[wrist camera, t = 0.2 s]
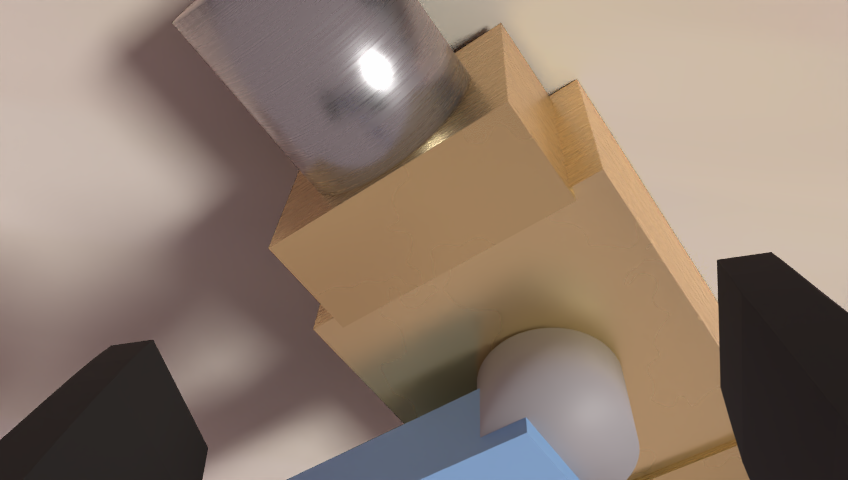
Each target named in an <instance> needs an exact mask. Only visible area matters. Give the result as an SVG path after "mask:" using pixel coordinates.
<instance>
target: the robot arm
mask: <svg viewBox="0 0 848 480" xmlns="http://www.w3.org/2000/svg"><path fill="white" fill-rule="evenodd" d="M717 274H718V312H719V350H720V388H721V391H722V395H723V398H724V402H725V405H726V409H727V412H728V416H729V419H730V423H731V426H732V430H733V433H734V436H735V439H736V443H737V446H738V449H739V452H740V456H741V459H742V462H743V465H744V467H745V470H746V472H747V474H748V477H749V479H750V480H848V312H847V311H845V310H844V309H843V308H842V307H840V306H839V305H838V304H836V303H835V302H834V301H833V300H831V299H830V298H829V297H828V296H826V295H825V294H824V293H823V292H821V291H820V290H819V289H818V288H816V287H815V286H814V285H813V284H811V283H810V282H809V281H808V280H806V279H805V278H804V277H803V276H801V275H800V274H799V273H798V272H796V271H795V270H794V269H793V268H791V267H790V266H789V265H788V264H786V263H785V262H784V261H782V260H781V259H780V258H778V257H777V256H776V255H774V254H773V253H772V252H769V253H762V254H755V255H748V256H741V257H734V258H727V259H720V260H717ZM207 450H208V447H207V445H206V443H205V441H204V439H203V437H202V435H201V433H200V431H199V429H198V427H197V425H196V423H195V421H194V419H193V417H192V415H191V413H190V411H189V409H188V407H187V406H186V404H185V402H184V400H183V398H182V396H181V394H180V392H179V390H178V388H177V386H176V384H175V382H174V380H173V378H172V376H171V374H170V372H169V370H168V368H167V366H166V364H165V362H164V360H163V358H162V356H161V354H160V352H159V350H158V348H157V347H156V345H155V343H154V341H153V340H148V341H141V342H134V343H127V344H120V345H113V346H110V347H109V348H107V349H106V350H105V351H103V352H102V353H101V354H99V355H98V356H97V357H95V358H94V359H93V360H92V361H90V362H89V363H88V364H87V365H86V366H84V367H83V368H82V369H81V370H80V371H78V372H77V373H76V374H75V375H74V376H72V377H71V378H70V379H69V380H68V381H67V382H65V383H64V384H63V385H62V386H61V387H60V388H59V389H57V390H56V391H55V392H54V393H53V394H52V395H51V396H49V397H48V398H47V399H46V400H45V401H44V402H43V403H42V404H40V405H39V406H38V407H37V408H36V409H35V410H34V411H33V412H31V413H30V414H29V415H28V416H27V417H26V418H25V419H23V420H22V421H21V422H20V423H19V424H18V425H17V426H16V427H14V428H13V429H12V430H11V431H10V432H9V433H8V434H6V435H5V436H4V437H3V438H2V439H1V440H0V480H202V479H203V473H204V467H205V462H206V456H207Z"/></svg>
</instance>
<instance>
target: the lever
mask: <svg viewBox="0 0 848 480" xmlns="http://www.w3.org/2000/svg"><path fill="white" fill-rule="evenodd" d="M638 458H639V441H638V436H637V432H636V428H635V423H634V419H633V414H632V410H631V406H630V401H629V397H628V393H627V388H626V384H625V380H624V375H623V371H622V367H621V365H620V362H619V360H618V359H617V357H616V355H615V354H614V353H613V352H612V351H611V349H610V348H609V347H607V346H606V345H605V344H604V343H603V342H601V341H599V340H598V339H596V338H594V337H592V336H590V335H588V334H586V333H583V332H580V331H576V330H572V329H565V328H539V329H534V330H529V331H526V332H522V333H519V334H517V335H515V336H512V337H510V338H508V339H507V340H505V341H503V342H502V343H500V344H499V345H498V346H496V347H495V348H494V349H493V350H492V351H491V352H490V353H489V354H488V355H487V357H486V358H485V359H484V361H483V363H482V365H481V367H480V369H479V372H478V377H477V390H475V391H473V392H471V393H469V394H467V395H465V396H462V397H460V398H458V399H456V400H454V401H452V402H450V403H448V404H446V405H443V406H441V407H439V408H437V409H435V410H433V411H431V412H429V413H427V414H424V415H422V416H420V417H418V418H416V419H414V420H412V421H410V422H408V423H405V424H403V425H401V426H399V427H397V428H395V429H393V430H391V431H389V432H386V433H384V434H382V435H380V436H378V437H376V438H374V439H372V440H370V441H367V442H365V443H363V444H361V445H359V446H357V447H355V448H353V449H351V450H348V451H346V452H344V453H342V454H340V455H338V456H336V457H334V458H332V459H329V460H327V461H325V462H323V463H321V464H319V465H317V466H315V467H312V468H310V469H308V470H306V471H304V472H302V473H300V474H298V475H296V476H293V477H291V478H289V479H287V480H627V479H628V477H629V476H630V475H631V474H632V472H633V470H634V469H635V467H636V464H637V461H638Z"/></svg>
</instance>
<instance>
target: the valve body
mask: <svg viewBox="0 0 848 480" xmlns="http://www.w3.org/2000/svg"><path fill="white" fill-rule="evenodd" d="M172 24H173V25H174V26H175V27H176V28H177V29H178V31H179V32H180V33H181V34H182V35H183V36H184V37H185V39H186V40H187V41H188V42H189V43H190V44H191V46H192V47H193V48H194V49H195V50H196V51H197V52H198V54H199V55H200V56H201V57H202V58H203V59H204V61H205V62H206V63H207V64H208V65H209V66H210V67H211V69H212V70H213V71H214V72H215V73H216V74H217V75H218V77H219V78H220V79H221V80H222V81H223V82H224V84H225V85H226V86H227V87H228V88H229V89H230V90H231V92H232V93H233V94H234V95H235V96H236V97H237V99H238V100H239V101H240V102H241V103H242V104H243V105H244V107H245V108H246V109H247V110H248V111H249V112H250V114H251V115H252V116H253V117H254V118H255V119H256V120H257V122H258V123H259V124H260V125H261V126H262V127H263V129H264V130H265V131H266V132H267V133H268V134H269V135H270V137H271V138H272V139H273V140H274V141H275V142H276V143H277V145H278V146H279V147H280V148H281V149H282V150H283V152H284V153H285V154H286V155H287V156H288V157H289V158H290V160H291V161H292V162H293V163H294V164H295V165H296V167H297V168H298V169H299V172H298V175H297V177H296V180H295V182H294V185H293V187H292V190H291V193H290V195H289V198H288V200H287V203H286V205H285V208H284V210H283V213H282V215H281V218H280V220H279V223H278V225H277V228H276V230H275V233H274V235H273V238H272V241H271V243H270V246H269V248H268V249H269V250H270V251H271V252H272V253H273V254H274V255H275V256H276V257H277V258H278V259H279V260H280V261H281V262H282V264H283V265H284V266H285V267H286V268H287V269H288V270H289V271H290V272H291V273H292V274H293V275H294V276H295V277H296V278H297V279H298V280H299V282H300V283H301V284H302V285H303V286H304V287H305V288H306V289H307V290H308V291H309V292H310V293H311V294H312V295H313V296H314V297H315V299H316V300H317V301H318V302H319V303H320V306H319V310H318V314H317V317H316V321H315V325H314V329H313V330H314V331H315V332H316V333H317V334H318V335H319V336H320V337H321V338H322V339H323V340H324V341H325V342H326V343H327V344H328V345H329V346H330V347H331V348H332V349H333V351H334V352H335V353H336V354H337V355H338V356H339V357H340V358H341V359H342V360H343V361H344V362H345V363H346V364H347V365H348V366H349V367H350V368H351V369H352V370H353V371H354V372H355V373H356V374H357V375H358V376H359V377H360V378H361V379H362V381H363V382H364V383H365V384H366V385H367V386H368V387H369V388H370V389H371V390H372V391H373V392H374V393H375V394H376V395H377V396H378V397H379V398H380V399H381V400H382V401H383V402H384V403H385V404H386V405H387V406H388V407H389V408H390V409H391V411H392V412H393V413H394V414H395V415H396V416H397V417H398V418H399V419H400V420H401V421H402V422H403V423H404V424H405V423H408V422H410V421H412V420H414V419H416V418H418V417H420V416H422V415H424V414H427V413H429V412H431V411H433V410H435V409H437V408H439V407H441V406H443V405H446V404H448V403H450V402H452V401H454V400H456V399H458V398H460V397H462V396H465V395H467V394H469V393H471V392H473V391H475V390H477V377H478V372H479V369H480V367H481V365H482V363H483V361H484V359H485V358H486V357H487V355H488V354H489V353H490V352H491V351H492V350H493V349H494V348H495V347H496V346H498V345H499V344H500V343H502V342H503V341H505V340H507V339H508V338H510V337H512V336H515V335H517V334H519V333H522V332H526V331H529V330H534V329H539V328H565V329H572V330H576V331H580V332H583V333H586V334H588V335H590V336H592V337H594V338H596V339H598V340H599V341H601V342H603V343H604V344H605V345H606V346H607V347H609V348H610V349H611V351H612V352H613V353H614V354H615V355H616V357H617V359H618V360H619V362H620V365H621V367H622V371H623V375H624V380H625V384H626V388H627V393H628V397H629V401H630V406H631V410H632V414H633V419H634V423H635V428H636V432H637V436H638V441H639V458H638V461H637V464H636V467H635V469H634V470H633V472H632V474H631V475H630V476H629V477H628V479H627V480H750V479H749V477H748V474H747V472H746V470H745V467H744V465H743V462H742V459H741V456H740V452H739V449H738V446H737V443H736V439H735V436H734V433H733V430H732V426H731V423H730V419H729V416H728V412H727V409H726V405H725V402H724V398H723V395H722V391H721V388H720V350H719V312H718V302H717V300H716V299H715V297H714V295H713V294H712V292H711V291H710V289H709V287H708V286H707V284H706V283H705V281H704V280H703V278H702V276H701V275H700V273H699V272H698V270H697V268H696V267H695V265H694V264H693V262H692V261H691V259H690V257H689V256H688V254H687V253H686V251H685V249H684V248H683V246H682V245H681V243H680V242H679V240H678V238H677V237H676V235H675V234H674V232H673V230H672V229H671V227H670V226H669V224H668V223H667V221H666V219H665V218H664V216H663V215H662V213H661V211H660V210H659V208H658V207H657V205H656V204H655V202H654V200H653V199H652V197H651V196H650V194H649V192H648V191H647V189H646V188H645V186H644V185H643V183H642V181H641V180H640V178H639V177H638V175H637V174H636V172H635V170H634V169H633V167H632V166H631V164H630V162H629V161H628V159H627V158H626V156H625V155H624V153H623V151H622V150H621V148H620V147H619V145H618V143H617V142H616V140H615V139H614V137H613V136H612V134H611V132H610V131H609V129H608V128H607V126H606V124H605V123H604V121H603V120H602V118H601V117H600V115H599V113H598V112H597V110H596V109H595V107H594V105H593V104H592V102H591V101H590V99H589V98H588V96H587V94H586V93H585V91H584V90H583V88H582V86H581V85H580V83H579V82H578V80H575V81H573V82H572V83H570V84H568V85H567V86H565V87H563V88H562V89H560V90H558V91H557V92H555V93H553V94H552V95H550V96H549V95H548V94H547V92H546V91H545V89H544V88H543V86H542V84H541V83H540V81H539V80H538V78H537V77H536V75H535V74H534V72H533V71H532V69H531V68H530V66H529V65H528V63H527V62H526V60H525V59H524V57H523V56H522V54H521V53H520V51H519V50H518V48H517V46H516V45H515V43H514V42H513V40H512V39H511V37H510V36H509V34H508V33H507V31H506V30H505V28H504V27H503V25H502V24H501V23H500V24H498V25H497V26H495V27H494V28H492V29H491V30H489V31H488V32H486V33H485V34H483V35H482V36H480V37H479V38H477V39H476V40H474V41H473V42H471V43H470V44H468V45H467V46H465V47H463V48H462V49H460V50H459V51H457V52H456V53H454V51H453V50H452V49H451V47H450V46H449V44H448V43H447V41H446V40H445V39H444V37H443V36H442V34H441V33H440V31H439V30H438V29H437V27H436V26H435V24H434V23H433V21H432V20H431V19H430V17H429V16H428V14H427V13H426V11H425V10H424V9H423V7H422V6H421V4H420V3H419V1H418V0H195V1H194V2H193V3H192V4H191V5H190V6H188V7H187V8H186V9H185V10H184V11H183V12H182V13H181V14H180V15H179V16H178V17H177V18H176V19H175V20H174V21H173V22H172Z"/></svg>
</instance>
